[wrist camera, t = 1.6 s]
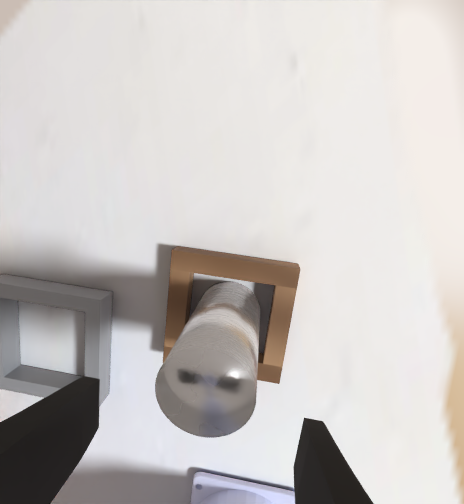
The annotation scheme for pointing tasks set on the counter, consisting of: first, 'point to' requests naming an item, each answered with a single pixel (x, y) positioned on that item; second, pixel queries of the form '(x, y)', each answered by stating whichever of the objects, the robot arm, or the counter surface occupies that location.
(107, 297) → the frame
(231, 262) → the socket frame
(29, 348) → the counter surface
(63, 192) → the counter surface
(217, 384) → the grey thick round cylinder
